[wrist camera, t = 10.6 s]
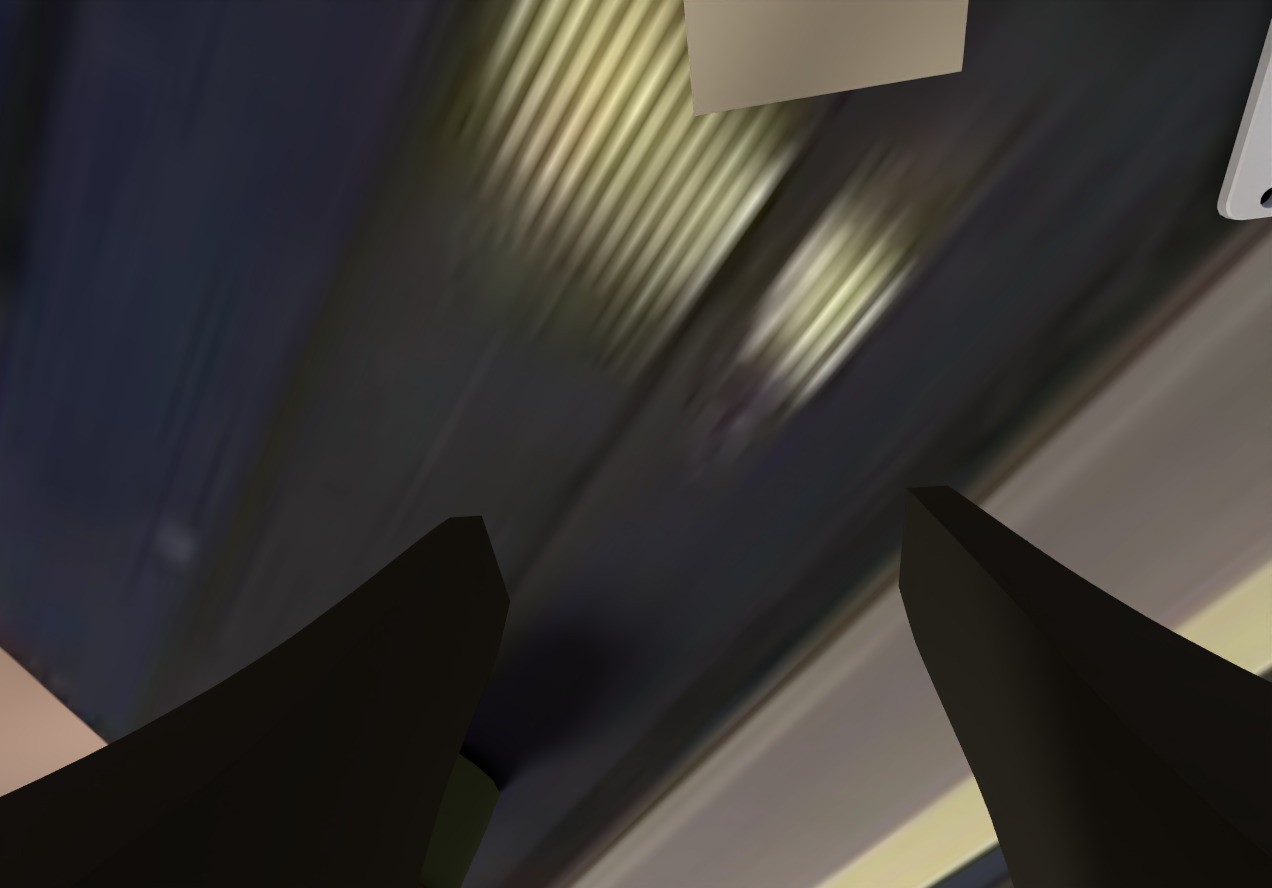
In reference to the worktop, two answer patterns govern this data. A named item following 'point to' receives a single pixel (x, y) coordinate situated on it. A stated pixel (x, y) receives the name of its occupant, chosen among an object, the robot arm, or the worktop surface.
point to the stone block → (815, 47)
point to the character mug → (459, 826)
